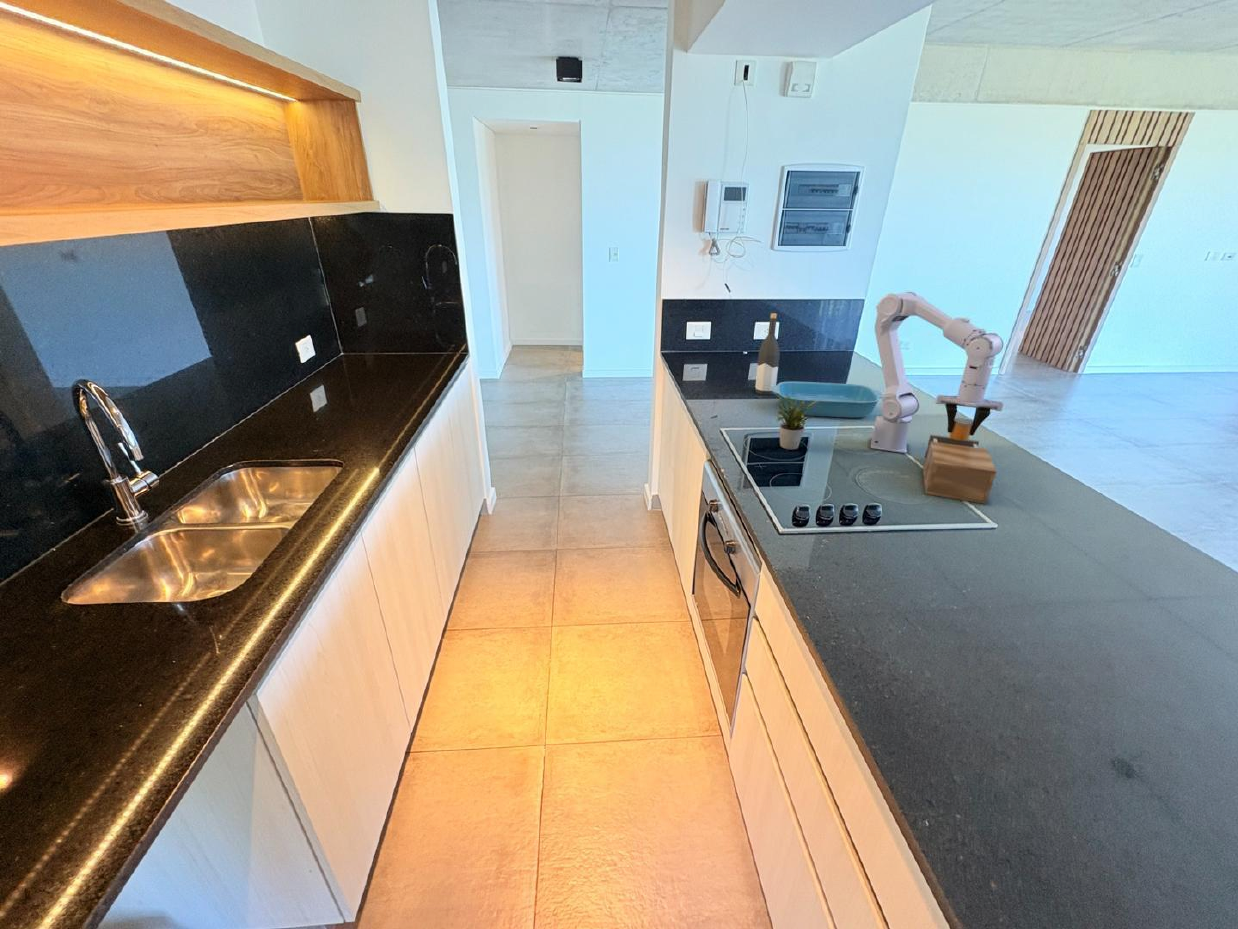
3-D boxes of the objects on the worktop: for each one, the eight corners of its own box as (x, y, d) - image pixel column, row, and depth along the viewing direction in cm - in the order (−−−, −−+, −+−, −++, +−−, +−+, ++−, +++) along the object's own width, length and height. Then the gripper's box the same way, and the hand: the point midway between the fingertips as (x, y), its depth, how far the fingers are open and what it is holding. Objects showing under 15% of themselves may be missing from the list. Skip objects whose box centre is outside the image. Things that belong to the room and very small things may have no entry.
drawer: (923, 450, 152) (929, 428, 149) (969, 457, 148) (976, 434, 145) (927, 475, 137) (933, 451, 134) (978, 483, 133) (986, 459, 130)
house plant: (751, 445, 158) (757, 393, 151) (773, 433, 167) (780, 383, 160) (796, 459, 149) (804, 403, 142) (817, 445, 158) (826, 392, 152)
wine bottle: (778, 390, 209) (787, 313, 197) (771, 396, 203) (781, 316, 190) (758, 387, 213) (766, 311, 201) (751, 392, 207) (759, 314, 194)
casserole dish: (771, 416, 182) (773, 396, 179) (768, 397, 202) (770, 378, 199) (885, 423, 175) (890, 402, 172) (870, 403, 195) (874, 384, 192)
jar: (949, 439, 139) (954, 422, 137) (948, 433, 143) (952, 416, 141) (969, 442, 137) (975, 424, 135) (967, 436, 141) (972, 419, 139)
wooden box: (922, 470, 142) (930, 441, 138) (977, 479, 137) (987, 449, 133) (925, 493, 130) (934, 462, 126) (985, 504, 125) (996, 471, 121)
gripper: (943, 383, 133) (929, 433, 139) (1011, 390, 128) (994, 442, 133) (940, 376, 139) (928, 425, 145) (1006, 382, 133) (990, 433, 139)
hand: (959, 432), depth 139 cm, fingers closed on jar, 4 cm apart
